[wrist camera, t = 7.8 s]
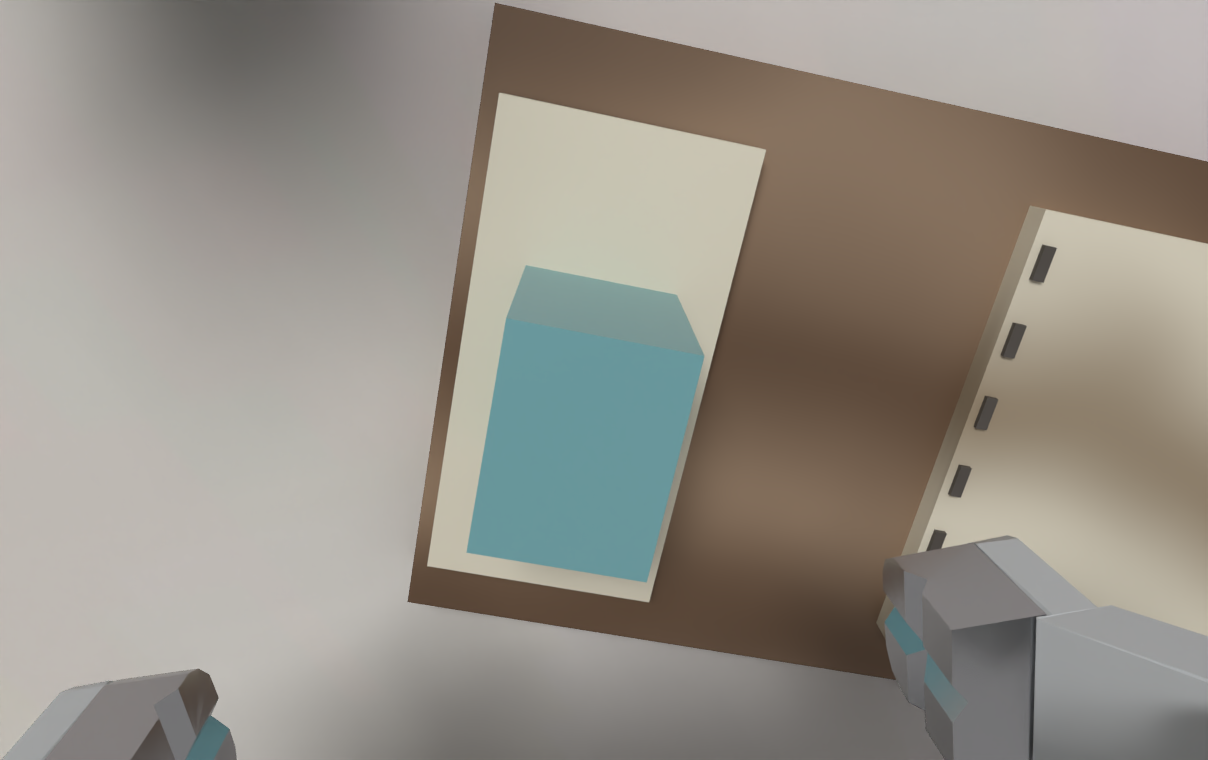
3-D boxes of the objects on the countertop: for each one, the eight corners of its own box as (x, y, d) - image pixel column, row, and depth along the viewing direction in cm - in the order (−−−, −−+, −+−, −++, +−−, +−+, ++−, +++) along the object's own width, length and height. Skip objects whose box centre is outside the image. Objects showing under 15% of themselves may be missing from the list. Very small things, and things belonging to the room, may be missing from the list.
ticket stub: (647, 587, 19) (664, 734, 14) (431, 551, 18) (383, 692, 14) (759, 148, 16) (825, 166, 11) (502, 92, 15) (468, 90, 11)
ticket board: (1173, 689, 22) (1235, 752, 20) (420, 566, 20) (401, 620, 18) (1422, 215, 18) (1533, 231, 16) (503, 11, 16) (490, -2, 14)
